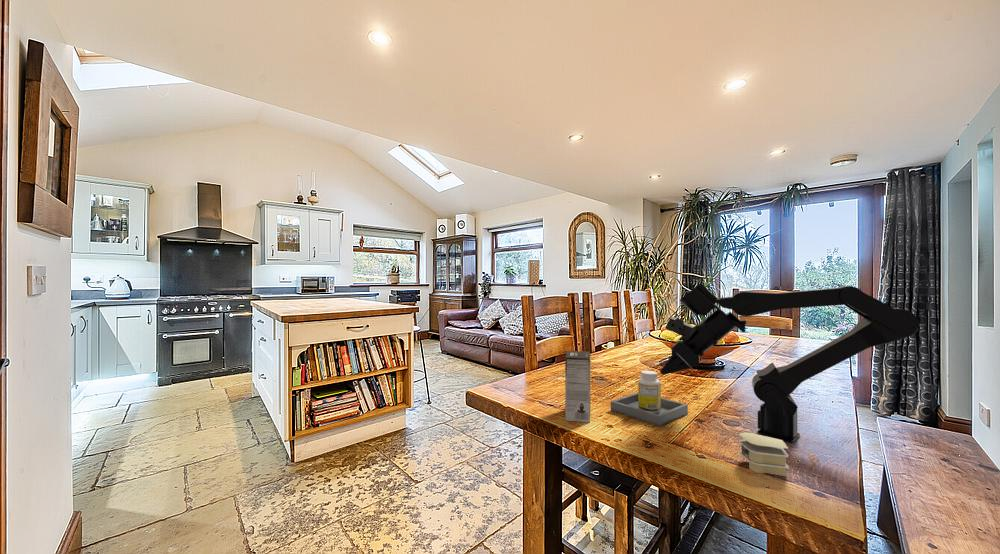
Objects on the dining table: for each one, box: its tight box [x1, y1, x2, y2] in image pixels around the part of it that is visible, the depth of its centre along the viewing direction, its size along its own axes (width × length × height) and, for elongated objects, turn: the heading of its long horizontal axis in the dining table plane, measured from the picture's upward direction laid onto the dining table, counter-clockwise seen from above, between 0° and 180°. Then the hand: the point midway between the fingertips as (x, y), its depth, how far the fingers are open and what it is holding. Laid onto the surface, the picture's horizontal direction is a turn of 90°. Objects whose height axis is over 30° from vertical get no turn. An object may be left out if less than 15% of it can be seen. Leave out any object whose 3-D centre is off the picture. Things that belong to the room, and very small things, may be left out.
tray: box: [610, 392, 689, 428], centre depth 98 cm, size 14×14×2 cm
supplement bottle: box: [637, 370, 662, 413], centre depth 98 cm, size 6×6×10 cm
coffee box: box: [564, 350, 592, 423], centre depth 96 cm, size 9×6×16 cm
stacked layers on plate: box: [738, 431, 790, 477], centre depth 69 cm, size 10×9×6 cm
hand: (663, 369), depth 97 cm, fingers open, 9 cm apart
